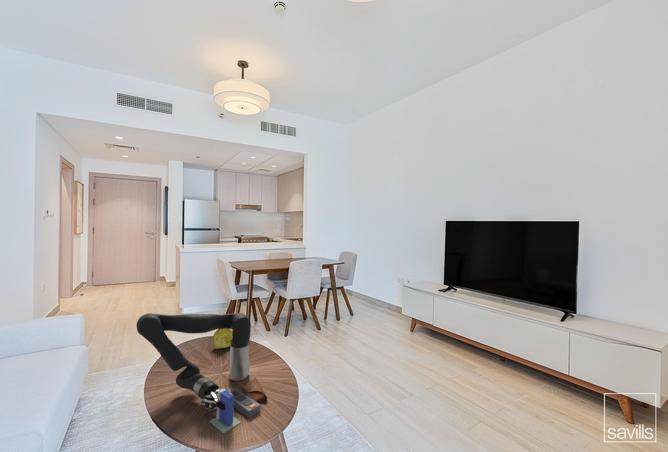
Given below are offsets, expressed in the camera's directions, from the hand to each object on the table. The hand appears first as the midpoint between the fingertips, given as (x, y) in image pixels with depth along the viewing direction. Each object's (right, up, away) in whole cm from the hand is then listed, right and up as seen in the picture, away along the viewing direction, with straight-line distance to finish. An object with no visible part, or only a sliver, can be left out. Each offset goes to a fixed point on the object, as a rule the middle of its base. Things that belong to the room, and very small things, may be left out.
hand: (228, 405), depth 122 cm
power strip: (-4, -7, +10) cm, 13 cm away
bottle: (-29, -5, +71) cm, 77 cm away
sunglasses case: (+4, -8, +22) cm, 24 cm away
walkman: (-2, -7, +1) cm, 7 cm away
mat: (-2, -8, +1) cm, 8 cm away
